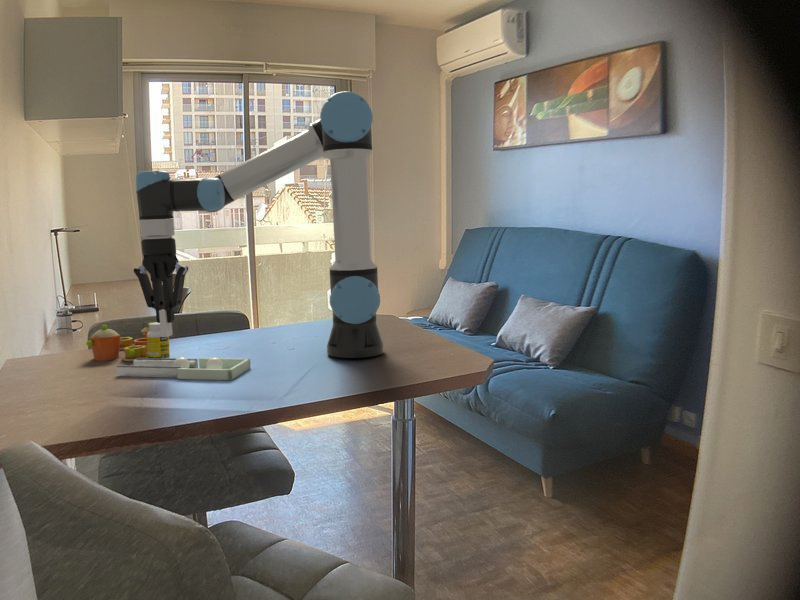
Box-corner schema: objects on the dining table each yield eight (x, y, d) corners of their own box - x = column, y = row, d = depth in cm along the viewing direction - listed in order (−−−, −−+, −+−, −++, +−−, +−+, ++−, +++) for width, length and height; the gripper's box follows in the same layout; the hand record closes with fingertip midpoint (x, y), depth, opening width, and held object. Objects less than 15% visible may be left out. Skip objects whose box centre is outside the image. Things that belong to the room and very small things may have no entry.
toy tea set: (145, 363, 165) (142, 327, 164) (83, 365, 163) (80, 328, 162) (172, 344, 191) (170, 312, 189) (119, 346, 189) (117, 314, 188)
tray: (250, 368, 156) (250, 358, 156) (231, 380, 145) (230, 370, 144) (200, 367, 158) (200, 357, 158) (177, 379, 146) (177, 369, 146)
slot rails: (198, 368, 157) (197, 358, 156) (180, 377, 148) (180, 367, 148) (137, 367, 159) (137, 357, 159) (117, 376, 150) (116, 365, 150)
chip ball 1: (191, 372, 154) (193, 357, 154) (184, 375, 151) (186, 359, 150) (176, 370, 155) (178, 355, 154) (169, 372, 151) (171, 357, 151)
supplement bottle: (162, 362, 165) (160, 325, 164) (144, 361, 166) (141, 324, 165) (173, 357, 170) (171, 321, 169) (155, 357, 171) (153, 321, 170)
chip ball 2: (226, 370, 153) (223, 354, 152) (220, 373, 149) (217, 358, 149) (212, 372, 153) (208, 357, 153) (205, 376, 150) (202, 360, 149)
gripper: (191, 236, 152) (199, 332, 155) (140, 238, 154) (149, 333, 157) (176, 237, 145) (185, 338, 147) (123, 239, 146) (133, 339, 149)
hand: (167, 336), depth 152 cm, fingers closed
